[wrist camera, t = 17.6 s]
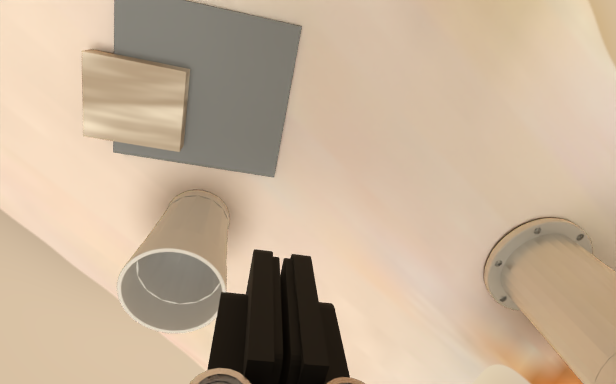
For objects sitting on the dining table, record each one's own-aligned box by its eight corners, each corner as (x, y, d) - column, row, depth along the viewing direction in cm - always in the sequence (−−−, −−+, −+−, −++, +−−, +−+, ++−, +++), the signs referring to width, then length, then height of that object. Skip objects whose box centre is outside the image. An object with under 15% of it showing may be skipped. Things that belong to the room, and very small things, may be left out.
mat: (301, 26, 34) (301, 26, 33) (274, 175, 39) (274, 177, 38) (117, -15, 31) (114, -16, 31) (115, 150, 37) (113, 152, 36)
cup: (162, 175, 38) (119, 240, 27) (243, 190, 39) (234, 257, 29) (154, 244, 41) (113, 327, 30) (230, 256, 43) (217, 339, 32)
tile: (81, 51, 31) (83, 136, 33) (186, 71, 32) (179, 152, 35) (91, 49, 32) (92, 130, 35) (190, 69, 34) (183, 145, 36)
